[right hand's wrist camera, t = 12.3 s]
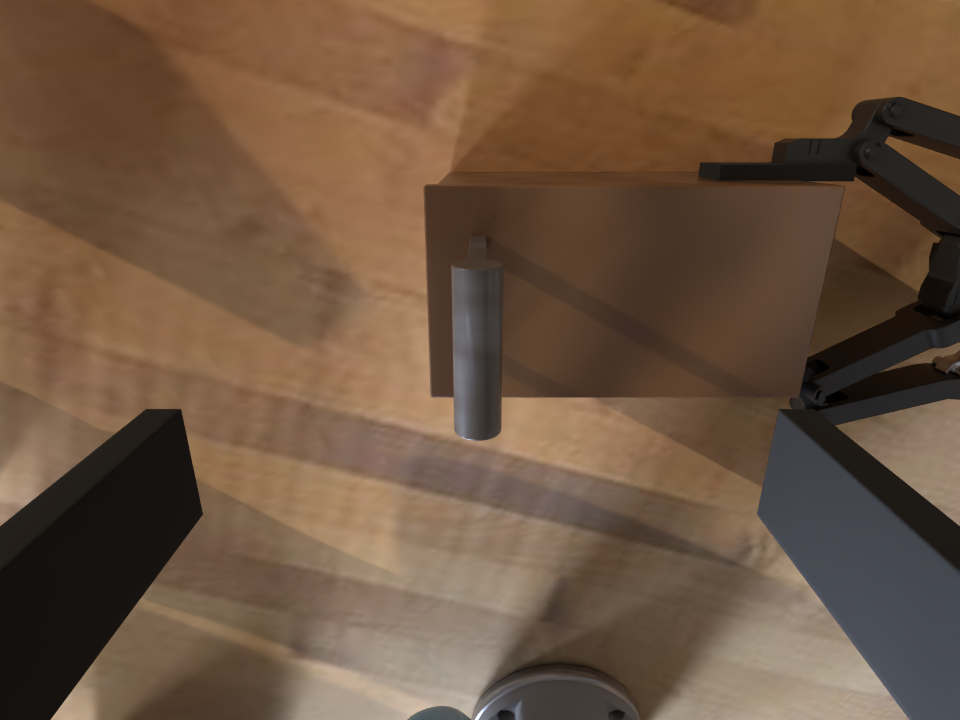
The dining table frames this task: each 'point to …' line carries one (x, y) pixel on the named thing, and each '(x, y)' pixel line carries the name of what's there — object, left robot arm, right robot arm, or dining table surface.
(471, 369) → the lid
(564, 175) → the chest
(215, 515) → the dining table surface
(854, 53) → the dining table surface
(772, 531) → the right robot arm
